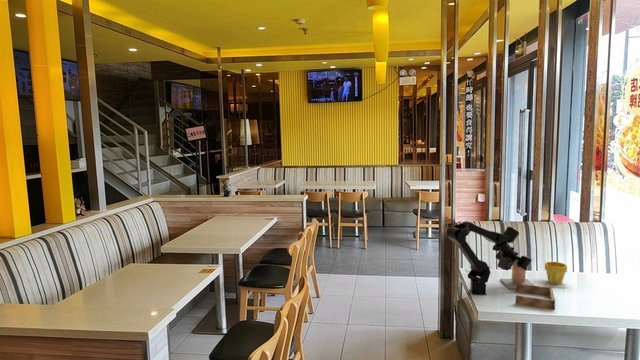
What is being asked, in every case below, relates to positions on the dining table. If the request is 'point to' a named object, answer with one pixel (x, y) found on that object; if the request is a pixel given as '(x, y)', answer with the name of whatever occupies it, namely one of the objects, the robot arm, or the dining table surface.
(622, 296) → the dining table surface
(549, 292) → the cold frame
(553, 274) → the plant pot
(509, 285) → the slate mat
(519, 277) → the candle
